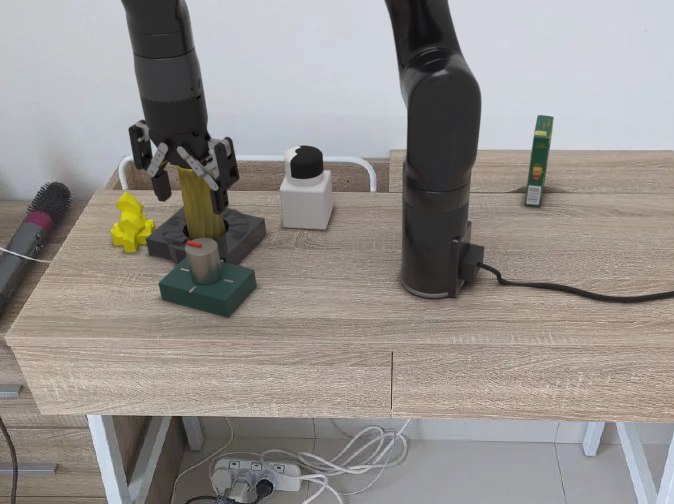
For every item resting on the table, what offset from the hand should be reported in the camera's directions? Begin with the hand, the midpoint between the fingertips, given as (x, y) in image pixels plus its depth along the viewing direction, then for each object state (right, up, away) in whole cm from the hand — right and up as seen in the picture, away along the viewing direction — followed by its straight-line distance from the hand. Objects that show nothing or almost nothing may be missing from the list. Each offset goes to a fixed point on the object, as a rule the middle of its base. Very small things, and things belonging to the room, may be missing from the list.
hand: (192, 205), depth 104 cm
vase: (-2, -3, +19) cm, 20 cm away
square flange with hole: (-2, -3, +19) cm, 20 cm away
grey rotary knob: (0, -9, +8) cm, 11 cm away
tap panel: (0, -11, +10) cm, 15 cm away
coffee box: (+51, +7, +31) cm, 60 cm away
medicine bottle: (+13, +3, +25) cm, 28 cm away
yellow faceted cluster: (-15, -2, +20) cm, 25 cm away
